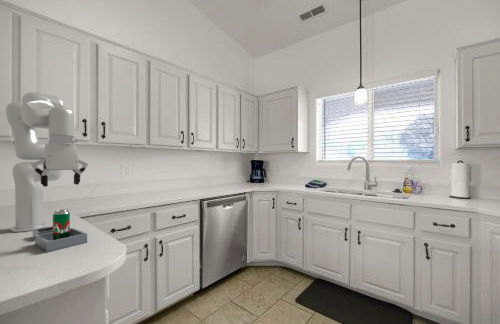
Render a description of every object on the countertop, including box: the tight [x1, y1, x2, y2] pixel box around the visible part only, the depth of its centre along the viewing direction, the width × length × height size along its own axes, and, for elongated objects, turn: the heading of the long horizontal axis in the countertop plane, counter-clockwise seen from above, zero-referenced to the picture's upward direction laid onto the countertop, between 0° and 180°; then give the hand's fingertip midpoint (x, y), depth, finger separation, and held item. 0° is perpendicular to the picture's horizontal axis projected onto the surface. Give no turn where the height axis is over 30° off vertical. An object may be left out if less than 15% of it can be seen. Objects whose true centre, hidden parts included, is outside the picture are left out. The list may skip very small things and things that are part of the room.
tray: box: [34, 227, 88, 253], centre depth 88 cm, size 14×12×4 cm
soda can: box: [52, 209, 71, 240], centre depth 88 cm, size 5×5×12 cm
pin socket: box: [32, 225, 53, 239], centre depth 97 cm, size 8×8×3 cm
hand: (61, 185), depth 88 cm, fingers open, 9 cm apart
